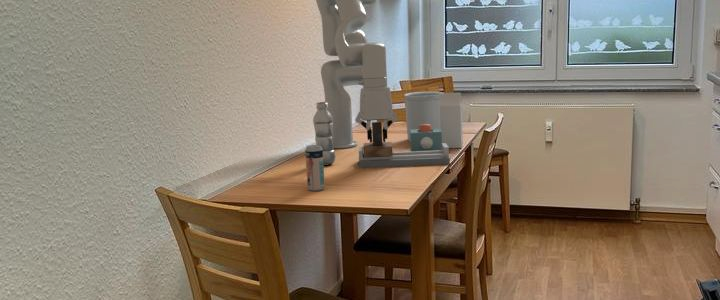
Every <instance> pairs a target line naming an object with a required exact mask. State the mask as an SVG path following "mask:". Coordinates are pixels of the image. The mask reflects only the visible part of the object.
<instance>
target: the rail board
mask: <svg viewBox="0 0 720 300" xmlns="http://www.w3.org/2000/svg"><path fill="white" fill-rule="evenodd" d="M449 149H450V148H449V147H448V145H447V144H446V143H442V150H436V151H413V152H411V151H395V152H393V156H379V157H364V152H363V146H359V147H358V168H359V169H367V168H368V169H371V168H389V167H395V168H396V167H415V166H417V167H418V166H435V165H436V166H437V165H438V166H439V165H443V166H444V165H450V164H451V158H450V153H449V152H450V150H449Z"/></svg>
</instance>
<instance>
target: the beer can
mask: <svg viewBox="0 0 720 300" xmlns="http://www.w3.org/2000/svg"><path fill="white" fill-rule="evenodd" d="M304 151H305V162H306V178H307V179H306V182H307V190H309V191H311V192H321V191H323V190H325V188H326V185H325V183H326V182H325V168H324V166H325V165H323V149H322V147H321V145H316V144H311V145H306V148H305V149H304Z"/></svg>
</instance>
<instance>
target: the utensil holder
mask: <svg viewBox="0 0 720 300" xmlns="http://www.w3.org/2000/svg"><path fill="white" fill-rule="evenodd" d="M440 93H444V92H441V91H418V92H416V91H414V92H409V93H405V94H404V97H403V98H404V104H405V106H404V107H405V118H406V119H405V122H406V133H407V140H408V142H410V130H415V129H419V125H420V124H431V129H437V128H439V129H440Z"/></svg>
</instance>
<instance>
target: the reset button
mask: <svg viewBox="0 0 720 300" xmlns="http://www.w3.org/2000/svg"><path fill="white" fill-rule="evenodd" d="M419 132H431V124H420V125H419Z"/></svg>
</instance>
